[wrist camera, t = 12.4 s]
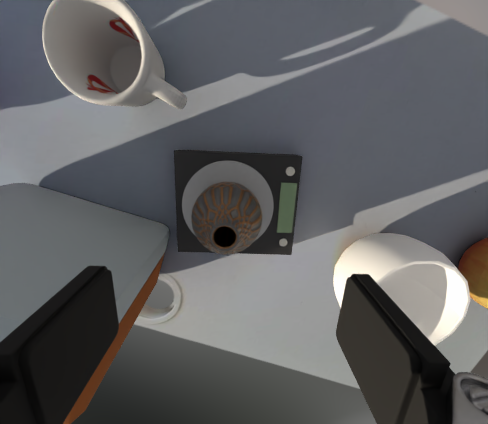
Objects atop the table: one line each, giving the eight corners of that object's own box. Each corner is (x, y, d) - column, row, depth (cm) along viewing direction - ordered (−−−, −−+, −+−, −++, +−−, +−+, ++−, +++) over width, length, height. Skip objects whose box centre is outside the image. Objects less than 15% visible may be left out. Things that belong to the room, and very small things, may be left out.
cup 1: (210, 75, 26) (199, 50, 19) (177, 141, 28) (155, 142, 20) (116, 13, 24) (60, -45, 17) (87, 87, 26) (25, 67, 19)
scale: (178, 149, 28) (172, 150, 26) (297, 154, 29) (303, 156, 26) (182, 243, 32) (176, 253, 29) (287, 246, 32) (292, 257, 30)
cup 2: (336, 212, 31) (377, 243, 22) (424, 228, 32) (500, 265, 23) (310, 293, 35) (337, 350, 25) (391, 305, 36) (444, 364, 26)
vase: (191, 183, 27) (169, 204, 18) (252, 171, 26) (260, 186, 18) (206, 240, 29) (193, 282, 20) (263, 229, 28) (274, 267, 20)
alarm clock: (17, 242, 31) (-356, 419, 12) (22, 178, 29) (-433, 264, 9) (158, 281, 33) (46, 485, 14) (174, 224, 31) (65, 372, 11)
